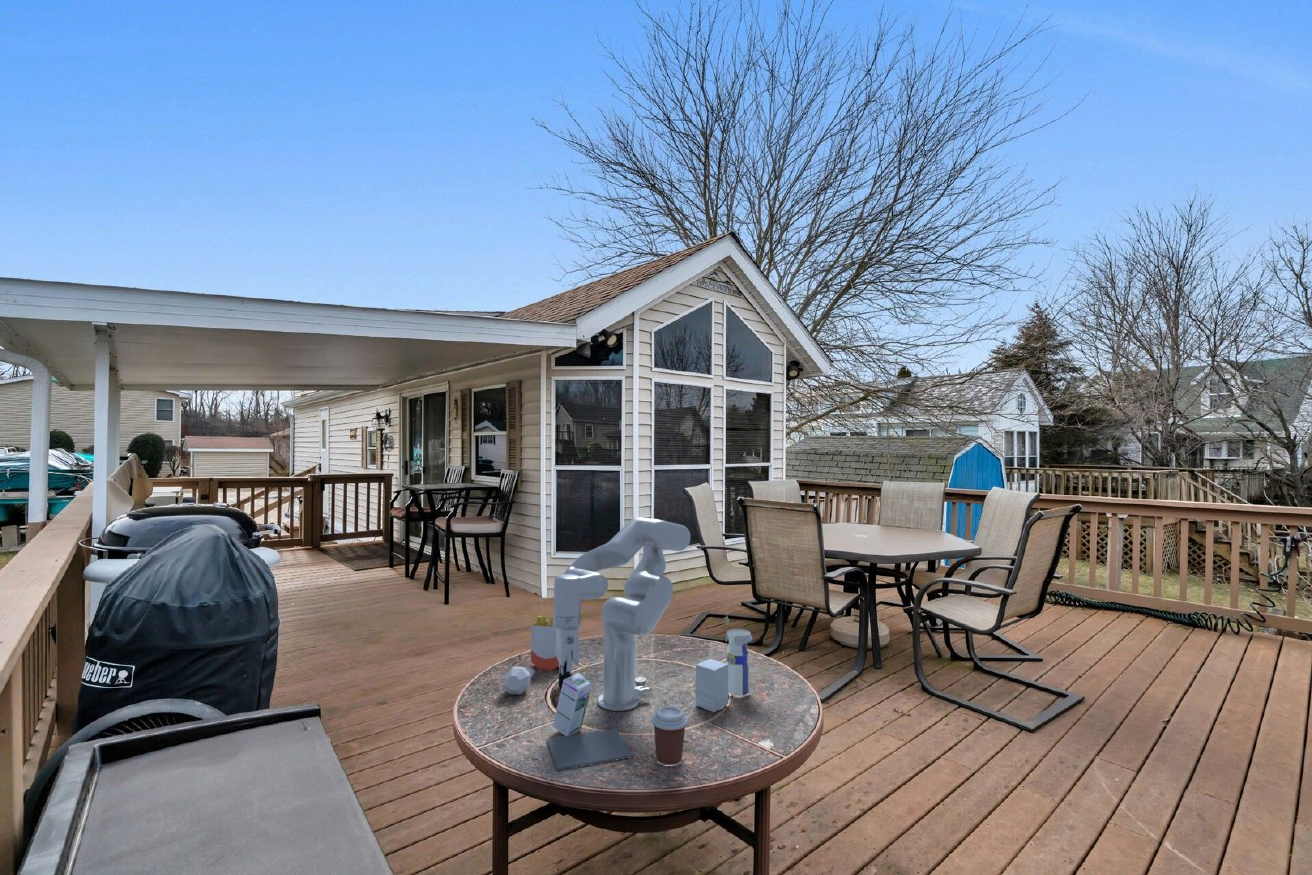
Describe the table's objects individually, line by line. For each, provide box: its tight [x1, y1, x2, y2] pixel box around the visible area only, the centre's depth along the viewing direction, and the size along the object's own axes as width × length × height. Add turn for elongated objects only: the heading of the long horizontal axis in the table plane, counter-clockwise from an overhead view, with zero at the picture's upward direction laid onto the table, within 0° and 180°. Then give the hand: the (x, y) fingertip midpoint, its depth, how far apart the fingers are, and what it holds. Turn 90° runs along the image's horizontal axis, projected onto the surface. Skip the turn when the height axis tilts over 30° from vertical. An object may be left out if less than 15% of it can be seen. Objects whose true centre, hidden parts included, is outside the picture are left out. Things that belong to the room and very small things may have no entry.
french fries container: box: [530, 615, 559, 670], centre depth 210 cm, size 5×11×18 cm, turn 85°
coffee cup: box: [651, 705, 689, 765], centre depth 149 cm, size 9×9×12 cm
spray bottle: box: [723, 615, 753, 695], centre depth 191 cm, size 8×9×25 cm
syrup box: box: [552, 672, 593, 737], centre depth 162 cm, size 6×6×14 cm
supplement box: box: [695, 658, 729, 711], centre depth 181 cm, size 7×7×13 cm
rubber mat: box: [546, 728, 634, 771], centre depth 153 cm, size 19×15×1 cm
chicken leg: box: [503, 666, 535, 695], centre depth 192 cm, size 8×18×8 cm, turn 176°
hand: (564, 687), depth 164 cm, fingers closed
